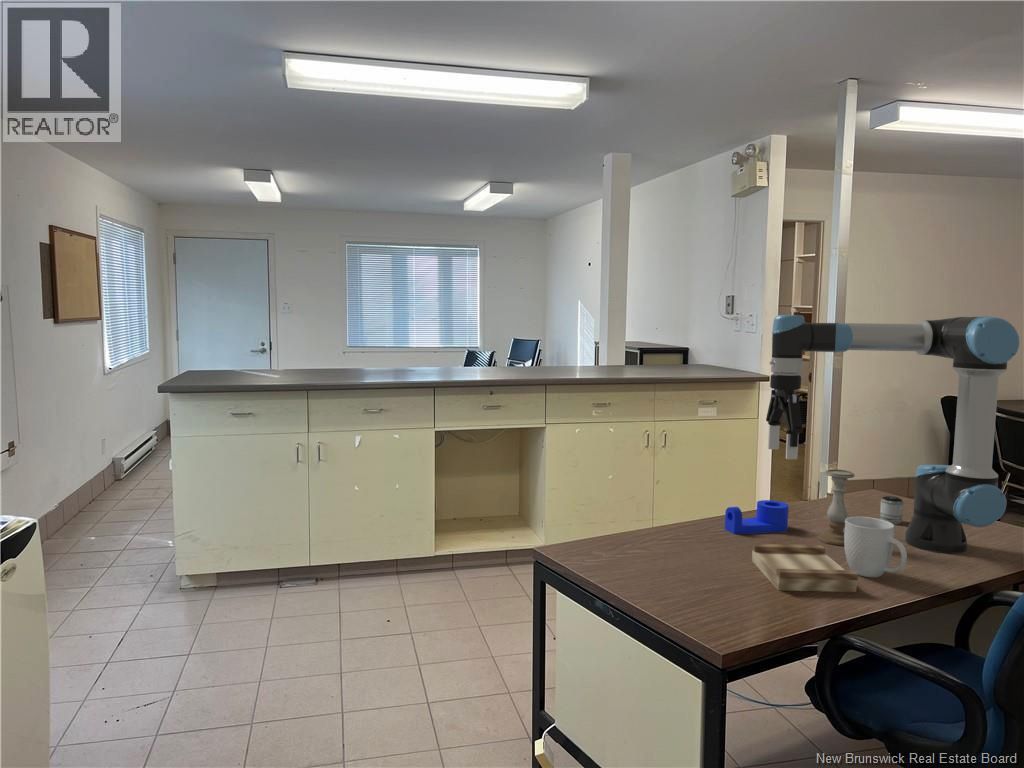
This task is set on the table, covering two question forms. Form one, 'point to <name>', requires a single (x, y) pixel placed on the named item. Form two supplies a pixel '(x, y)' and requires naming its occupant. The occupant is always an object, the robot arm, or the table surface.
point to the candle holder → (837, 508)
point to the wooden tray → (802, 568)
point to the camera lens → (891, 509)
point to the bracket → (758, 518)
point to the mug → (871, 546)
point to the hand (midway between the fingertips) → (782, 454)
